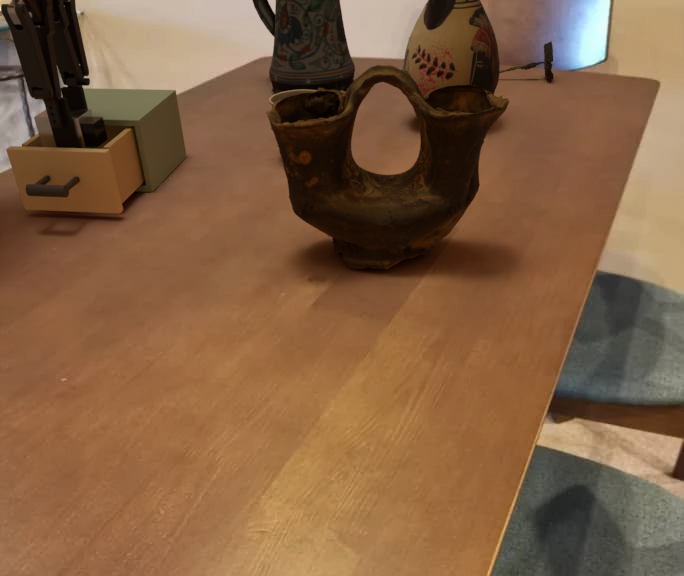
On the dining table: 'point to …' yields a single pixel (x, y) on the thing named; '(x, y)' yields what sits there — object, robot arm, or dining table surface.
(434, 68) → the ceramic jug
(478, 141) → the pottery vessel
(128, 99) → the cabinet
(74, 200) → the drawer
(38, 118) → the black-capped tan block
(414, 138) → the dining table surface
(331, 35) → the beer stein
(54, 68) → the robot arm
